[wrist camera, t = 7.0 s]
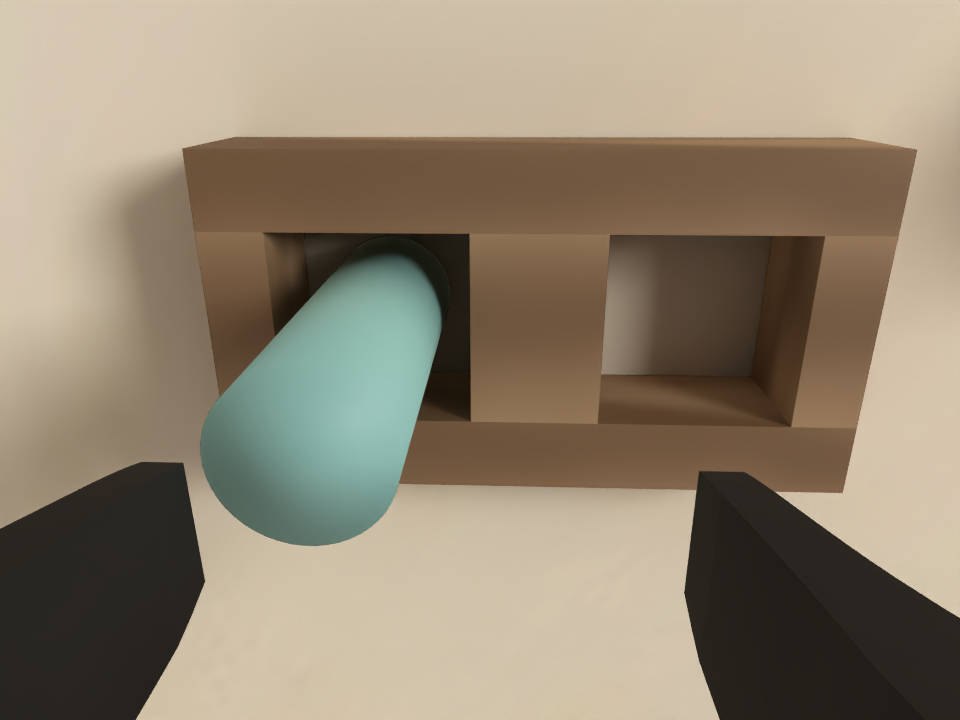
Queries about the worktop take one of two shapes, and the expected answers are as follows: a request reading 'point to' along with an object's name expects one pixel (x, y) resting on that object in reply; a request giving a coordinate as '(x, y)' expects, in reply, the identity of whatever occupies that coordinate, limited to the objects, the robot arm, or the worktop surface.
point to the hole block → (579, 291)
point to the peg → (331, 400)
